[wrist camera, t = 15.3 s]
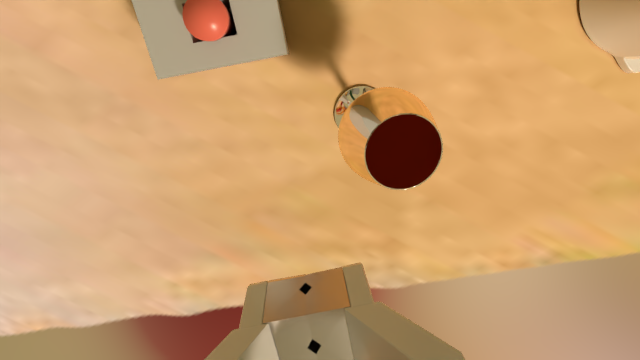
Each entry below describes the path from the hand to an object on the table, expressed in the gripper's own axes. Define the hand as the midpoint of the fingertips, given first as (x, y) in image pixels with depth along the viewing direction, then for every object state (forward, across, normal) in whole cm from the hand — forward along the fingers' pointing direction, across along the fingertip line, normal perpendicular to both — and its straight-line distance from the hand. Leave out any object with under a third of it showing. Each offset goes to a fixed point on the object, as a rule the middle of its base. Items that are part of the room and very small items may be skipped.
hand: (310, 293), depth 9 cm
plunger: (+33, -6, +10) cm, 35 cm away
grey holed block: (+34, -6, +10) cm, 36 cm away
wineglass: (+34, +7, -2) cm, 35 cm away
